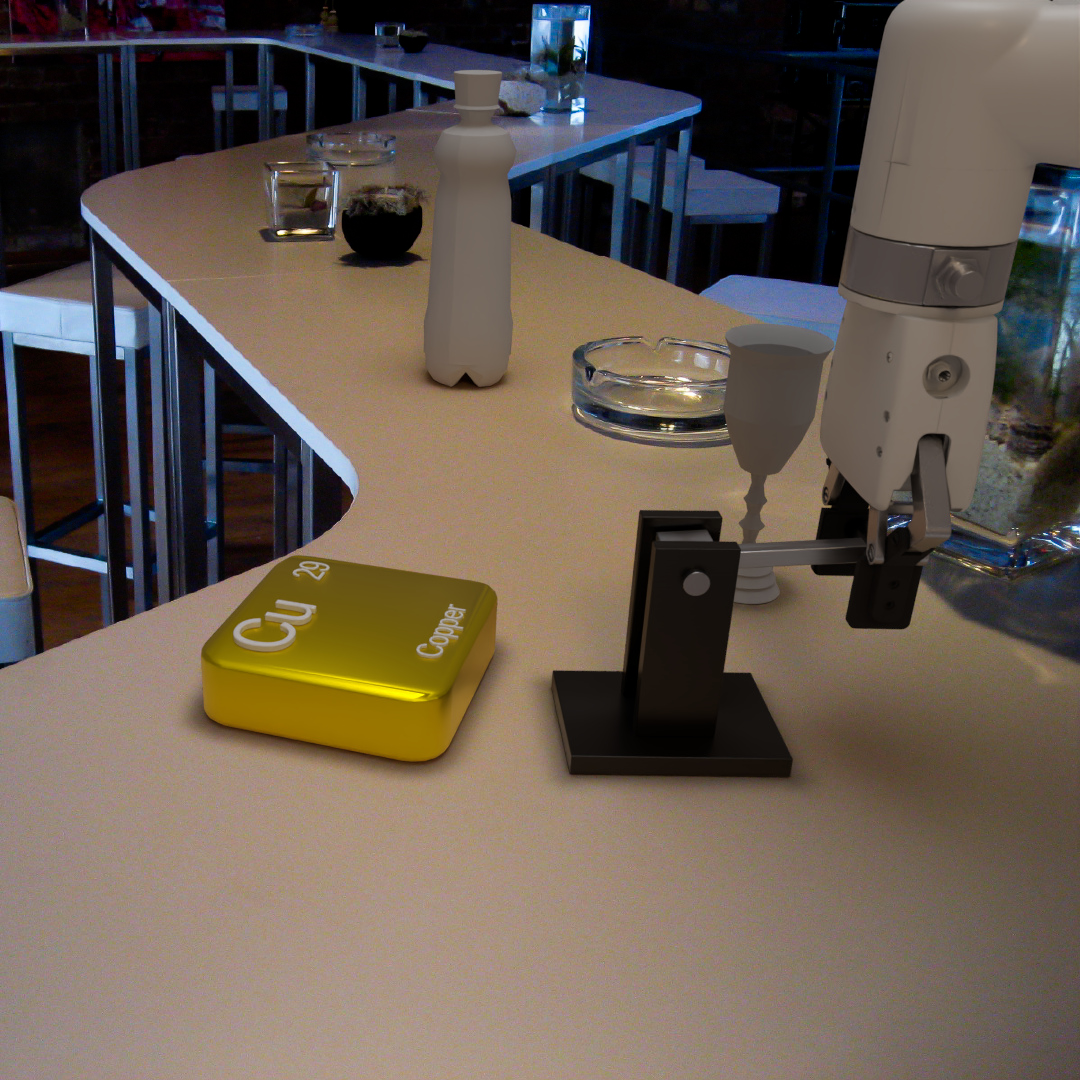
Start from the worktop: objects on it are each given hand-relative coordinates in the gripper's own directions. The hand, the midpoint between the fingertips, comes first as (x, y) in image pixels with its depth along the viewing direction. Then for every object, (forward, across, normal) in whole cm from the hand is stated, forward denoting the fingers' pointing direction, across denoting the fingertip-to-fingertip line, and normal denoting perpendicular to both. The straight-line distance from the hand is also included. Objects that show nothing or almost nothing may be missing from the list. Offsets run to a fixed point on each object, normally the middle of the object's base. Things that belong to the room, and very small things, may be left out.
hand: (857, 596), depth 69 cm
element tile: (+9, +5, +28) cm, 29 cm away
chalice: (+9, +18, 0) cm, 20 cm away
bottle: (+9, +65, +18) cm, 68 cm away
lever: (-1, 0, +5) cm, 5 cm away
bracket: (+9, 0, +10) cm, 13 cm away
